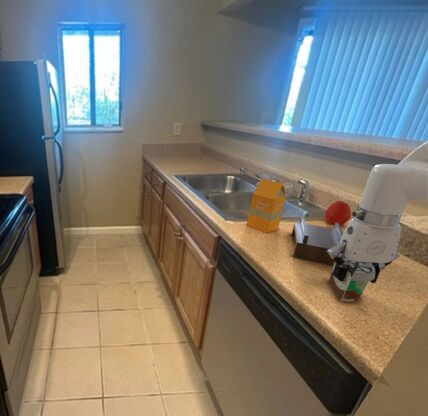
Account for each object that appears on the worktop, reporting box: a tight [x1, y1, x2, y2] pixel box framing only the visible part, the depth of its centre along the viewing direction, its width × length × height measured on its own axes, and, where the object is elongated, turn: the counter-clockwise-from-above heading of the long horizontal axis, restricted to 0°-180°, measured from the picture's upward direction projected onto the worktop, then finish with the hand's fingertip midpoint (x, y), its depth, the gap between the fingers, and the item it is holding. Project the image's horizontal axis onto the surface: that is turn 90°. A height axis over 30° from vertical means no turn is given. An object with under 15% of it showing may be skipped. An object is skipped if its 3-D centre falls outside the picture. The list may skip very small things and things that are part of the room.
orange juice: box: [246, 178, 287, 234], centre depth 109 cm, size 8×9×20 cm
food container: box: [328, 253, 375, 303], centre depth 72 cm, size 12×6×10 cm, turn 157°
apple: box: [324, 200, 352, 227], centre depth 113 cm, size 8×8×11 cm
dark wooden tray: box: [291, 217, 344, 267], centre depth 94 cm, size 14×19×8 cm
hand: (353, 278), depth 72 cm, fingers closed on food container, 6 cm apart
